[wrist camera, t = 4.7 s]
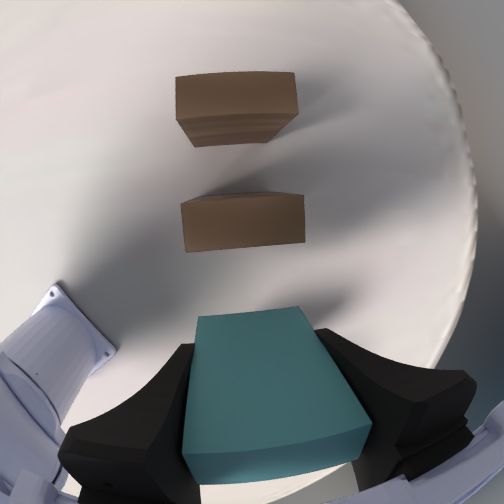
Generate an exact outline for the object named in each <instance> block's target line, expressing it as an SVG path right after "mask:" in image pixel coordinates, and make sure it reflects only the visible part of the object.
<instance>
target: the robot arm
mask: <svg viewBox="0 0 504 504" xmlns="http://www.w3.org/2000/svg"><path fill="white" fill-rule="evenodd" d="M52 292H53V293H54V295H53V294H52ZM314 332H315V334H316V335H317V337H318V338H319V340H320V342H321V343H322V344H323V345H324V347H325V348H326V350H327V351H328V353H329V354H330V356H331V358H332V359H333V361H334V362H335V364H336V365H337V367H338V369H339V370H340V372H341V373H342V375H343V377H344V378H345V380H346V381H347V383H348V385H349V386H350V388H351V389H352V391H353V392H354V394H355V396H356V397H357V399H358V400H359V402H360V404H361V405H362V407H363V408H364V410H365V412H366V413H367V415H368V417H369V418H370V420H371V421H372V426H371V429H370V431H369V434H368V437H367V439H366V442H365V444H364V447H363V449H362V451H361V454H360V456H359V458H358V459H356V460H353V461H351V462H352V466H353V469H354V472H355V476H356V480H357V484H358V488H359V492H358V493H356V494H353V495H350V496H347V497H344V498H340V499H337V500H333V501H330V502H326V503H323V504H461V503H463V502H464V501H465V500H466V499H468V498H469V497H470V496H472V495H473V494H474V493H475V492H476V491H478V490H479V489H480V488H481V487H482V486H484V485H485V484H486V483H487V482H488V481H489V480H490V479H491V478H492V477H494V476H495V475H496V474H497V473H498V472H499V471H500V470H501V469H502V468H503V467H504V400H503V401H502V402H501V403H500V404H499V405H498V406H496V407H495V408H494V409H493V410H492V411H491V413H490V414H489V415H488V417H487V418H486V420H485V422H484V424H483V425H482V426H480V427H479V428H478V429H476V430H475V431H474V432H471V431H470V430H469V429H468V428H467V427H466V426H465V425H466V424H467V422H468V421H467V419H466V418H465V417H464V414H465V412H466V411H467V409H468V407H469V405H470V403H471V401H472V400H473V397H474V395H475V393H476V388H477V384H476V381H475V380H474V379H473V378H472V377H470V376H469V375H468V374H467V373H466V372H465V371H464V370H437V369H428V368H421V367H416V366H411V365H407V364H403V363H399V362H396V361H393V360H390V359H387V358H384V357H382V356H379V355H377V354H374V353H372V352H370V351H368V350H366V349H364V348H362V347H360V346H358V345H356V344H354V343H352V342H350V341H349V340H347V339H345V338H343V337H342V336H340V335H338V334H336V333H335V332H333V331H331V330H329V329H327V328H324V329H318V330H314ZM194 348H195V344H194V343H190V344H181V345H180V346H179V347H178V348H177V350H176V351H175V352H174V354H173V355H172V356H171V357H170V359H169V360H168V361H167V362H166V364H165V365H164V366H163V367H162V368H161V369H160V371H159V372H158V373H157V374H156V375H155V376H154V377H153V378H152V379H151V380H150V381H149V382H148V383H147V384H146V385H145V386H144V387H143V388H142V389H140V390H139V391H138V392H137V393H135V394H134V395H133V396H132V397H130V398H129V399H127V400H126V401H124V402H123V403H121V404H120V405H118V406H117V407H115V408H113V409H112V410H110V411H108V412H106V413H104V414H102V415H100V416H98V417H96V418H93V419H91V420H88V421H86V422H83V423H80V424H77V425H75V426H71V427H70V428H69V430H68V432H67V434H65V433H64V432H63V430H62V429H61V427H60V426H61V424H62V422H63V420H64V418H65V416H66V415H67V413H68V411H69V409H70V407H71V405H72V403H73V402H74V400H75V398H76V396H77V394H78V393H79V391H80V389H81V387H82V386H83V384H84V382H85V381H86V379H87V378H88V377H89V376H90V375H91V374H93V373H94V372H95V371H96V370H97V369H99V368H100V367H101V366H102V365H103V364H105V363H106V362H107V361H108V360H109V359H111V358H112V357H113V356H114V355H115V354H116V348H115V347H114V346H113V345H112V344H111V343H110V342H109V341H108V340H107V339H106V338H105V337H104V336H103V335H102V334H101V333H100V332H99V331H98V330H97V329H96V328H95V327H94V326H93V325H92V324H91V323H90V322H89V320H88V319H87V318H86V317H85V316H84V315H83V314H82V313H81V312H80V311H79V309H78V308H77V307H76V306H75V305H74V304H73V302H72V301H71V300H70V299H69V298H68V297H67V295H66V294H65V293H64V292H63V290H62V289H61V288H60V287H59V286H58V285H57V284H54V285H52V286H51V287H50V289H49V290H48V291H47V293H46V294H45V295H44V297H43V298H42V300H41V301H40V303H39V304H38V306H37V307H36V308H35V310H34V311H33V313H32V314H31V316H30V317H29V319H28V320H27V321H25V322H24V323H23V324H22V325H21V326H20V327H18V328H17V329H16V330H15V331H14V332H13V333H11V334H10V335H9V336H8V337H7V338H6V339H5V340H4V341H3V342H1V343H0V504H201V497H200V485H198V484H197V482H196V480H195V479H194V477H193V475H192V473H191V471H190V469H189V467H188V465H187V463H186V461H185V459H184V457H183V455H182V446H183V435H184V425H185V415H186V406H187V397H188V388H189V380H190V372H191V364H192V360H193V356H194ZM106 352H108V353H109V354H107V353H106ZM68 473H69V474H70V475H71V476H72V477H73V478H74V479H75V480H76V481H77V482H78V483H79V484H80V485H81V486H82V488H81V492H80V495H79V497H76V496H73V495H70V494H67V493H64V492H62V491H61V490H62V488H63V487H64V485H65V483H66V481H67V478H68Z"/></svg>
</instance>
